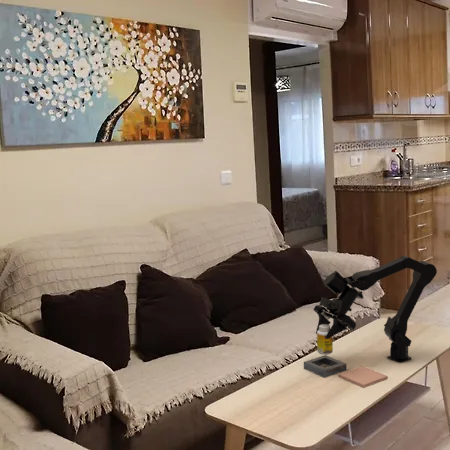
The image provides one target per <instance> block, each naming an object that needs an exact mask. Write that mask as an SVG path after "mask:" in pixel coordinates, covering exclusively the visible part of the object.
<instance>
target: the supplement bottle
mask: <svg viewBox="0 0 450 450" xmlns="http://www.w3.org/2000/svg"><path fill="white" fill-rule="evenodd" d="M330 328H331V326H330V324H329V325H327V324H322V325H319V330H318V331H317V334H316V347H317V348H316V349H317V353H318V354H319V355H322V356H324V355H327V356H329V355H331V354H333V350H334V349H333V340H334V339H333V336H332V337H331V338H329V339H327V338H326V336H327V334H328V332H329V330H330Z"/></svg>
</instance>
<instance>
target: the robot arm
mask: <svg viewBox="0 0 450 450" xmlns="http://www.w3.org/2000/svg"><path fill="white" fill-rule="evenodd" d="M405 269H410V270H412V272H413V273H412V281H411V284H410V286H409V287H408V290H407V292H406V294H405V296H404V298H403V299H402V301H401V303H400V306H399V308H398V310H397V312H396V314H395V315H394V316H392V317H390V316H388V317H387V319H386V321H385V324H383V332H384V334H385V335H386V337H388V339H389V340H390V341H391V343H390V351H389V352H390V353H389V354H390V355H388V356H387V359H389V360H392V361H395V362H398V363H403V362H407V361H409V360H412V356H409V347H410V346H411V344H412V340H411V339H410V338H409V337H408V336H407V335H406V334H407V331H408V321H409V319H410V317H411V314H412V313H413V311H414V308H415V307H416V305H417V303H418V301H419V299H420V297H421V295H422V293H423V291H424V290H425V288H426V287H427V286H428V285H429V284H431V283H432V281H433V280H434V279H435V278H436V276H437V273H438V270H437V268H436V266H435V265H434V264H433V263H430V262H428V261H426V260H420V261H419V260H415V259H414V258H412V257H409V256H407V255H401V256H400V257H399V258H395V259H394V260H391V261H389V262H387V263H385V264H382V265H380V266H377V267H375V268H374V269H365V270H364V269H363V270H361V271H357V272H356V271H355V273H353V274H352V275H350V276H345V277H344V276H342V275H341V273H340V272H338V270H334V271H333V272H332V273H330V274H328V275H327V276H326V278H324V281H323V285H324V286H325V287H326V288H328V289H329V290H330V291H331V292H332V293H334V294H336V295H337V294H339V295H338V297H337V298H336V297H334V298H332V299H329V298H327V297H323V296H321V299H320V302H319V304H317V305H315V306H314V307H313V312H315V314H317V316H318V323H317V326H316V331H315V334H316V335H317V331H318V330H319V325H322V324H327V325H330V324H331V321H329V320H330V319H332V321H333V322H332V325H331V326H330V330H329V332H328V334H327V336H326V338H327V339H329V338H331V337H332V338H333V337H334V336H335V335H337V334H338V335H339V333H341V332H343V331H347V330H348V329H349V330H352V331H354V330H355V328H356V327H357V322H356V321H355V320H354V319H353V318H352V317H351V316H349V315H348V314H347V313H348V312H352V310H353V309H352V306H353V304H354V302H356V300H357V299H360V300H362V299H364V295H363V292H364V291H367V290H369V289H370V288H372V287H373V286H374V285H376V283H378V281H380V280H383V279H384V278H387V277H389V276H391V275H394V274H396V273H398V272H401V271H403V270H405Z"/></svg>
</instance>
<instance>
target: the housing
mask: <svg viewBox="0 0 450 450" xmlns="http://www.w3.org/2000/svg"><path fill="white" fill-rule="evenodd" d="M323 365H327V367H323ZM303 369H304V370H307V371H308V372H311V373H312V374H316V375H317V376H320V377H322V378H328V377H330V376H334V375H336V374H337V375H338V374H340V373H343V372H346V371H348V370H347V363H346V362H344V361H341V360H338V359H336V358H334V357H331V356H329V355H322V356H319V357H315V358H311V359H309V360H306V361H303Z"/></svg>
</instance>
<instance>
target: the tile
mask: <svg viewBox="0 0 450 450" xmlns="http://www.w3.org/2000/svg"><path fill="white" fill-rule="evenodd" d="M337 375H338V378H341V379H343V380H345V381H347V382H350V383H351V384H354V385H356V386H359V387H360V388H366V387H369V386H373V385H374V384H377V383H380V382H383V381H387V380H388V379H389V377H388V375H387V374H383V373H381V372H378V371H375V370H374V369H371V368H368V367H366V366H363V365H360V366H359V367H355V368H352V369H350V370H349V369H348V370H345V371H342V372H340V373H337Z"/></svg>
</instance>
